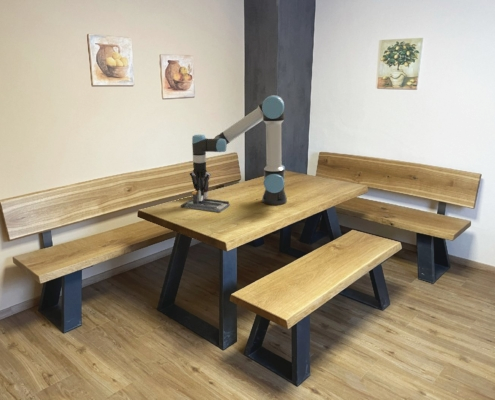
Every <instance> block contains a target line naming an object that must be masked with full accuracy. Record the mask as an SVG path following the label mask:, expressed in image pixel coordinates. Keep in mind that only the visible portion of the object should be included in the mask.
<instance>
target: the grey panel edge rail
mask: <svg viewBox="0 0 495 400" xmlns="http://www.w3.org/2000/svg"><path fill="white" fill-rule="evenodd" d="M192 200H193V198H191V199H190V200H188V202H191V201H192ZM188 202H187V201H186V202H184V203H182V204H181V205H180V208H182V209H183V208H184V205H185V204H187V203H188ZM184 209H185V208H184Z"/></svg>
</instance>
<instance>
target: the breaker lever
mask: <svg viewBox="0 0 495 400" xmlns="http://www.w3.org/2000/svg"><path fill="white" fill-rule="evenodd" d="M191 194H192V199H193V203H199V197H198V194H197V191H195V190H194V191H192V192H191Z"/></svg>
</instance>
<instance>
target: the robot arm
mask: <svg viewBox="0 0 495 400" xmlns="http://www.w3.org/2000/svg"><path fill="white" fill-rule="evenodd" d="M284 121H285V102H284V99H283V98H282V97H281V96H280V95H277V94H270V95H269V96H267V97H266V98H265V99H264V100H263V101H262V102H261V103H260V104H258V106H257V108H256V109H254V110H252V111H251V112H250V113H248V114H247V115H246V116H244V117H242V118H241V119H239V120H238V121H236V122H235V123H233V125H230V126H229V127H228V128H226V129H225V130H223V131H222V132H220V133H219V134H217V135H216V136H215V137H214V138H206V135H205V134H193V135H192V138H191V139H192V141H191V143H192V145H191V146H192V147H191V148H192V162H193V163H192V168H193V169H192V172H190V173H189V176H190V178H191V180H192V184H193V189H194V190H195V189H197V194H198V195H199V201H202V200H203V195H204V190H205V189H207V185H208V182H209V180H210V178H211V177H210V176H211V174H210V173H208V171H207V162H206V161H207V155H206V154H207V153H224V152H225V153H226V152H227V146H228V145H229V144H230V143H231V142H233V141H234V140H237V138H239V137H240V136H241V135H243V134H244V133H246V132H248V131H249V130H250V129H252V128H254V127H255V126H256V125H258V124H259V123H261V122H264V123H265V142H266V143H265V144H266V148H265V149H266V150H265V151H266V152H265V153H266V157H265V158H266V166H265V167H264V168H263V178H264V179H263V186H264V192H263V194H262V197H261V199H262V203H264V204H265V205H271V206H274V205H275V206H279V205H280V206H281V205H284V204H286V203H287V194H286V191H285V173H286V167H285V165H283V164H282V158H283V157H282V154H283V153H282V124H283V122H284ZM205 174H206V177H205V182H204V176H205ZM195 176H196V178H195ZM196 181H197V182H196Z"/></svg>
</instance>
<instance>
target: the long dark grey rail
mask: <svg viewBox="0 0 495 400" xmlns="http://www.w3.org/2000/svg"><path fill="white" fill-rule="evenodd" d="M203 200H204V201H212V202H220V203H225V204H230V202H229V201H227V200H221V199H219V200H218V199H212V198H203Z"/></svg>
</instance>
